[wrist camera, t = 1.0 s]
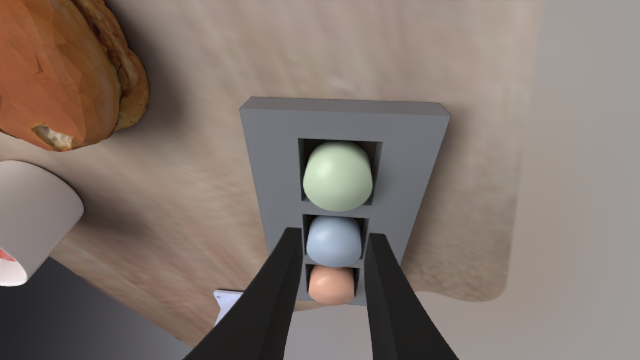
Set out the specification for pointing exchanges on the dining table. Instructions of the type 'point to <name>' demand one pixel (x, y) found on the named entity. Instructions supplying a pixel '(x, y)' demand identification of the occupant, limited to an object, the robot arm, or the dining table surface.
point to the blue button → (334, 241)
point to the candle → (32, 218)
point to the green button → (338, 176)
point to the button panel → (342, 124)
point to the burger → (66, 74)
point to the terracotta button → (331, 284)
